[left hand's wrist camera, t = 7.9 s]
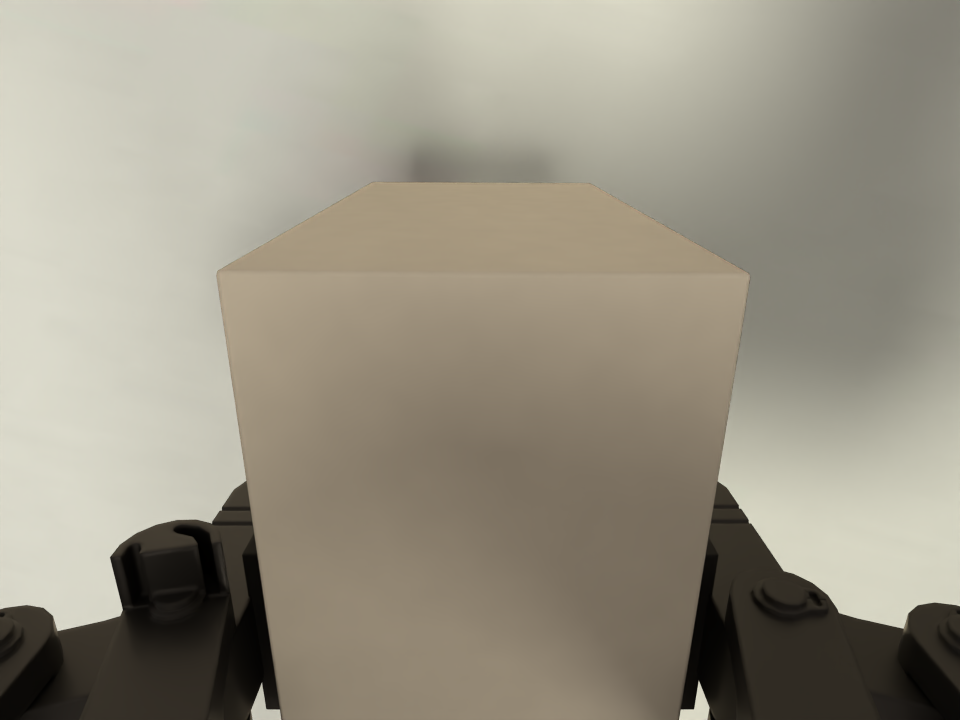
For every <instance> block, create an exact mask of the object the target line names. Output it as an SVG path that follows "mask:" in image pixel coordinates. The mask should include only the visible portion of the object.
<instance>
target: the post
mask: <svg viewBox="0 0 960 720" xmlns="http://www.w3.org/2000/svg"><path fill="white" fill-rule="evenodd" d="M217 282H218V289H219V296H220V303H221V309H222V316H223V323H224V330H225V337H226V344H227V350H228V357H229V364H230V371H231V378H232V385H233V391H234V398H235V405H236V412H237V419H238V426H239V432H240V439H241V446H242V453H243V460H244V466H245V473H246V480H247V487H248V494H249V501H250V507H251V514H252V521H253V528H254V535H255V542H256V548H257V555H258V562H259V569H260V576H261V583H262V589H263V596H264V603H265V610H266V617H267V623H268V630H269V637H270V644H271V651H272V658H273V664H274V671H275V678H276V685H277V692H278V699H279V705H280V712H281V719H282V720H679V716H680V710H681V704H682V697H683V691H684V685H685V679H686V673H687V666H688V660H689V654H690V648H691V642H692V635H693V629H694V623H695V617H696V611H697V604H698V598H699V592H700V586H701V580H702V573H703V567H704V561H705V555H706V549H707V543H708V536H709V530H710V524H711V518H712V512H713V505H714V499H715V493H716V487H717V481H718V474H719V468H720V462H721V456H722V450H723V443H724V437H725V431H726V425H727V419H728V412H729V406H730V400H731V394H732V388H733V381H734V375H735V369H736V363H737V357H738V350H739V344H740V338H741V332H742V326H743V319H744V313H745V307H746V301H747V295H748V288H749V282H750V275H749V273H747V272H745V271H744V270H742V269H740V268H738V267H737V266H735V265H733V264H731V263H730V262H728V261H726V260H724V259H722V258H721V257H719V256H717V255H715V254H714V253H712V252H710V251H708V250H707V249H705V248H703V247H701V246H700V245H698V244H696V243H694V242H693V241H691V240H689V239H687V238H685V237H684V236H682V235H680V234H678V233H677V232H675V231H673V230H671V229H670V228H668V227H666V226H664V225H663V224H661V223H659V222H657V221H655V220H654V219H652V218H650V217H648V216H647V215H645V214H643V213H641V212H640V211H638V210H636V209H634V208H633V207H631V206H629V205H627V204H626V203H624V202H622V201H620V200H618V199H617V198H615V197H613V196H611V195H610V194H608V193H606V192H604V191H603V190H601V189H599V188H597V187H596V186H594V185H592V184H590V183H456V182H372V183H370V184H368V185H367V186H365V187H363V188H361V189H360V190H358V191H356V192H354V193H353V194H351V195H349V196H347V197H346V198H344V199H342V200H340V201H339V202H337V203H335V204H333V205H332V206H330V207H328V208H327V209H325V210H323V211H321V212H320V213H318V214H316V215H314V216H313V217H311V218H309V219H307V220H306V221H304V222H302V223H300V224H299V225H297V226H295V227H293V228H292V229H290V230H288V231H286V232H285V233H283V234H281V235H279V236H278V237H276V238H274V239H272V240H271V241H269V242H267V243H265V244H264V245H262V246H260V247H258V248H257V249H255V250H253V251H251V252H250V253H248V254H246V255H244V256H243V257H241V258H239V259H237V260H236V261H234V262H232V263H230V264H229V265H227V266H225V267H223V268H222V269H220V270H218V272H217Z"/></svg>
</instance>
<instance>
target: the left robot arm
mask: <svg viewBox="0 0 960 720" xmlns="http://www.w3.org/2000/svg"><path fill="white" fill-rule="evenodd" d="M748 521H749V520H748V518H747V517H746V515H745V514H744V512H743V511H742V509H739V505H738V504H737V502H736V501H735V499H734V498H733V496H732V495H731V493H730V492H729V490H728V489H727V488H726V487H725V486H723V485H722V484H721V483H719V482H718V481H717V487H716V493H715V499H714V505H713V512H712V518H711V524H710V530H709V536H708V543H707V549H706V555H705V561H704V567H703V573H702V580H701V586H700V592H699V598H698V604H697V611H696V617H695V623H694V629H693V635H692V642H691V648H690V654H689V660H688V666H687V673H686V679H685V685H684V691H683V697H682V704H681V709H694V706H695V700H696V693H697V687H698V681H699V682H700V684H701V687H702V689H703V692H704V694H705V697H706V699H707V702H708V704H709V707H710V709H709V714H708V720H960V606H957V605H949V604H941V603H930V604H923V605H918V606H917V607H915V608H914V609H913V610H912V611H911V612H910V613H909V614H908V617H907V620H906V624H905V627H904V629H902V628H897V627H893V626H888V625H884V624H879V623H875V622H870V621H866V620H861V619H857V618H854V617H850V616H847V615H843V614H840V613H838V610H837V608H836V607H835V605H834V604H833V602H832V601H831V599H830V598H829V596H828V595H827V594H825V593H824V592H823V591H822V590H820V589H819V588H818V587H817V586H815V585H814V584H813V583H811V582H809V581H807V580H805V579H803V578H801V577H799V576H797V575H795V574H792V573H788V572H784V571H783V570H782V568H781V567H780V565H779V564H778V562H777V561H776V559H775V558H774V556H773V555H772V554H771V552H770V551H769V549H768V548H767V546H766V545H765V543H764V542H763V540H762V539H761V537H760V536H759V534H758V533H757V531H756V530H755V529H754V527H753V526H752V524H749V522H748ZM110 559H111V563H112V567H113V571H114V575H115V579H116V583H117V587H118V591H119V595H120V599H121V603H122V608H123V611H122V614H121V616H119V617H116V618H112V619H109V620H106V621H102V622H97V623H93V624H88V625H84V626H79V627H75V628H70V629H66V630H61V631H57V628H56V625H55V622H54V618H53V616H52V615H51V614H50V613H49V612H48V611H46V610H45V609H44V608H40V607H34V606H28V605H25V606H17V607H9V608H3V609H0V720H252V714H251V709H252V706H253V704H254V701H255V698H256V696H257V693H258V691H259V688H260V686H261V683H262V684H263V691H264V697H265V703H266V709H280V705H279V699H278V692H277V685H276V678H275V671H274V664H273V658H272V651H271V644H270V637H269V630H268V623H267V617H266V610H265V603H264V596H263V589H262V583H261V576H260V569H259V562H258V555H257V548H256V542H255V535H254V528H253V521H252V514H251V507H250V501H249V494H248V487H247V481H246V482H244V483H243V484H242V485H240V486H239V487H237V488H236V489H234V490H233V492H232V493H231V495H230V496H229V498H228V499H227V501H226V502H225V504H224V505H223V507H222V511H219V513H218V514H217V516H216V517H215V519H214V520H213V522H212V524H211V523H207V522H203V521H199V520H176V521H171V522H167V523H162V524H158V525H155V526H153V527H150V528H148V529H146V530H143V531H141V532H138V533H136V534H135V535H133V536H132V537H130V538H129V539H128V540H126V541H125V542H123V543H122V544H120V545H119V547H118V548H117V549H116V551H115V552H114V553H113V554H112V556H111V557H110Z"/></svg>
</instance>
